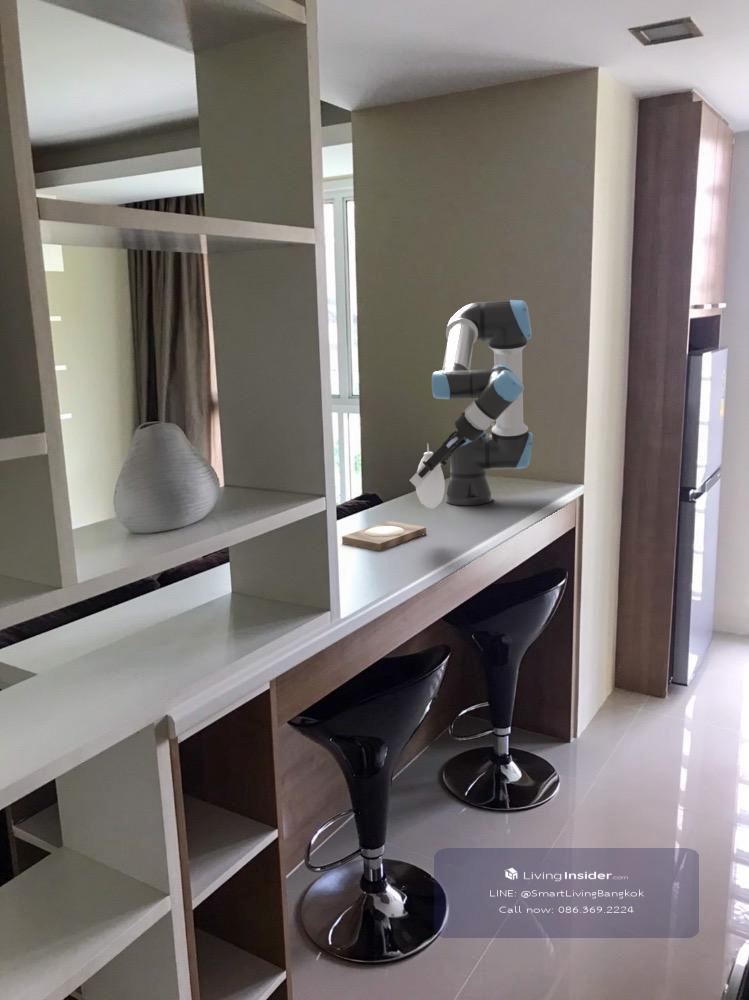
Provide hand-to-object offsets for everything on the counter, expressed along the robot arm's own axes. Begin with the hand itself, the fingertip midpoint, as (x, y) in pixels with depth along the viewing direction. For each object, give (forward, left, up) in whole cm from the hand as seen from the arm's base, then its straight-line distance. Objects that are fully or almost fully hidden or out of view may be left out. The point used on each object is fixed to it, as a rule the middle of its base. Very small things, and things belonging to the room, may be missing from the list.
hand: (418, 480), depth 226 cm
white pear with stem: (-1, +3, -8) cm, 8 cm away
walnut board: (+3, -11, -17) cm, 21 cm away
